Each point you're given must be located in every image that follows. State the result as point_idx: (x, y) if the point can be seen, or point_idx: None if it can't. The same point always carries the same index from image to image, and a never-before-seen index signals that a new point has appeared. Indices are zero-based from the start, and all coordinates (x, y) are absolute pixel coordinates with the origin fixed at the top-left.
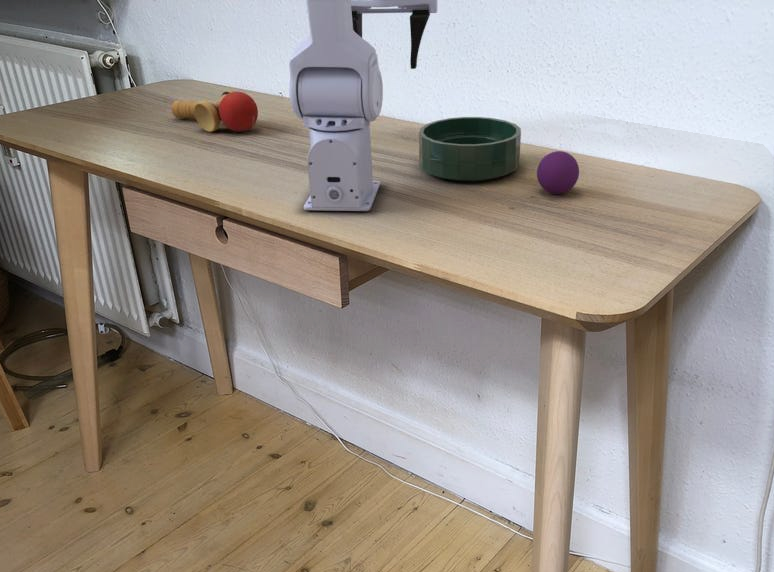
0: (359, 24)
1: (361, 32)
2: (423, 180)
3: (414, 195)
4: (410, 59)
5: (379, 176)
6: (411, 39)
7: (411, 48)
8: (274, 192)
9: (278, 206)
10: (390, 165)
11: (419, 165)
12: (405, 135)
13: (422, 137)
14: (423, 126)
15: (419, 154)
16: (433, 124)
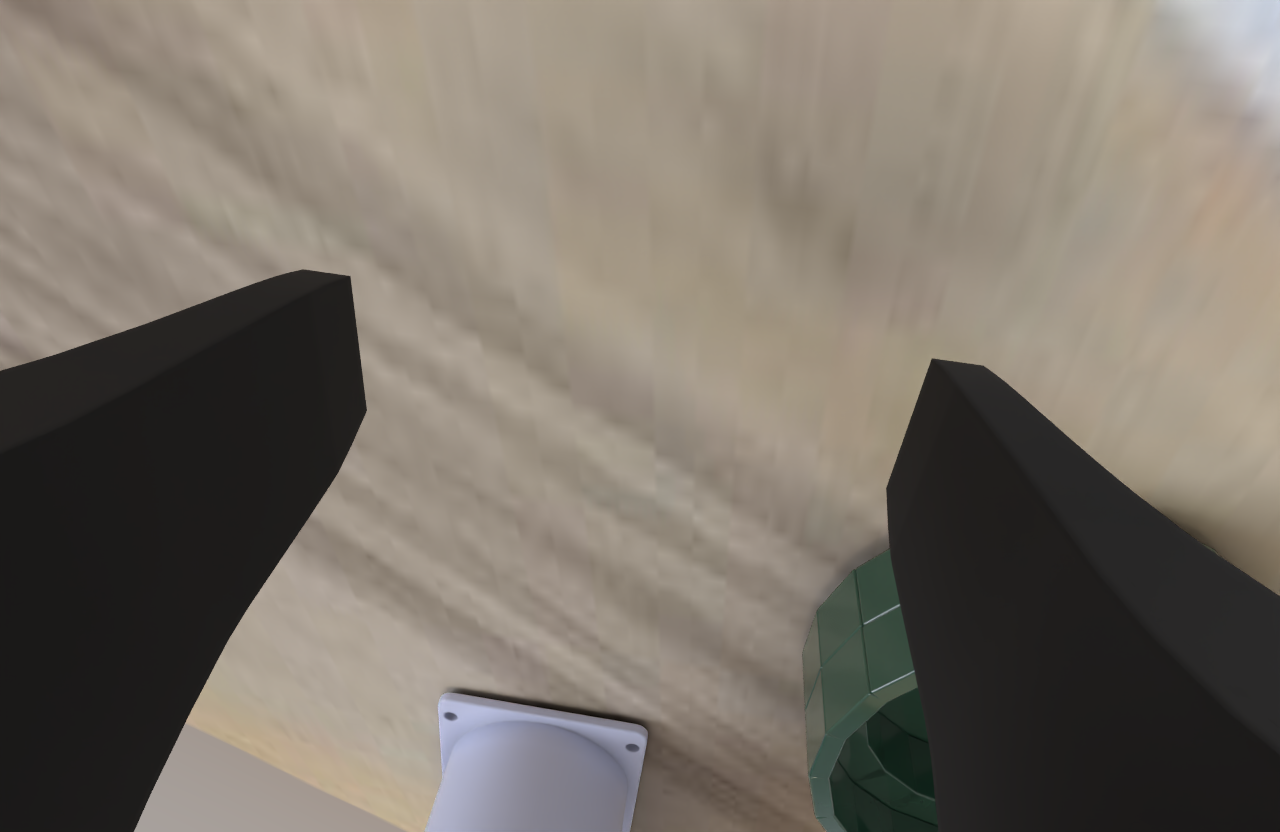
0: (7, 778)
1: (66, 508)
2: (802, 711)
3: (756, 790)
4: (895, 581)
5: (643, 659)
6: (946, 819)
7: (926, 700)
8: (318, 707)
9: (371, 779)
10: (685, 574)
11: (802, 655)
12: (796, 130)
13: (815, 814)
14: (846, 719)
15: (804, 696)
16: (909, 687)
